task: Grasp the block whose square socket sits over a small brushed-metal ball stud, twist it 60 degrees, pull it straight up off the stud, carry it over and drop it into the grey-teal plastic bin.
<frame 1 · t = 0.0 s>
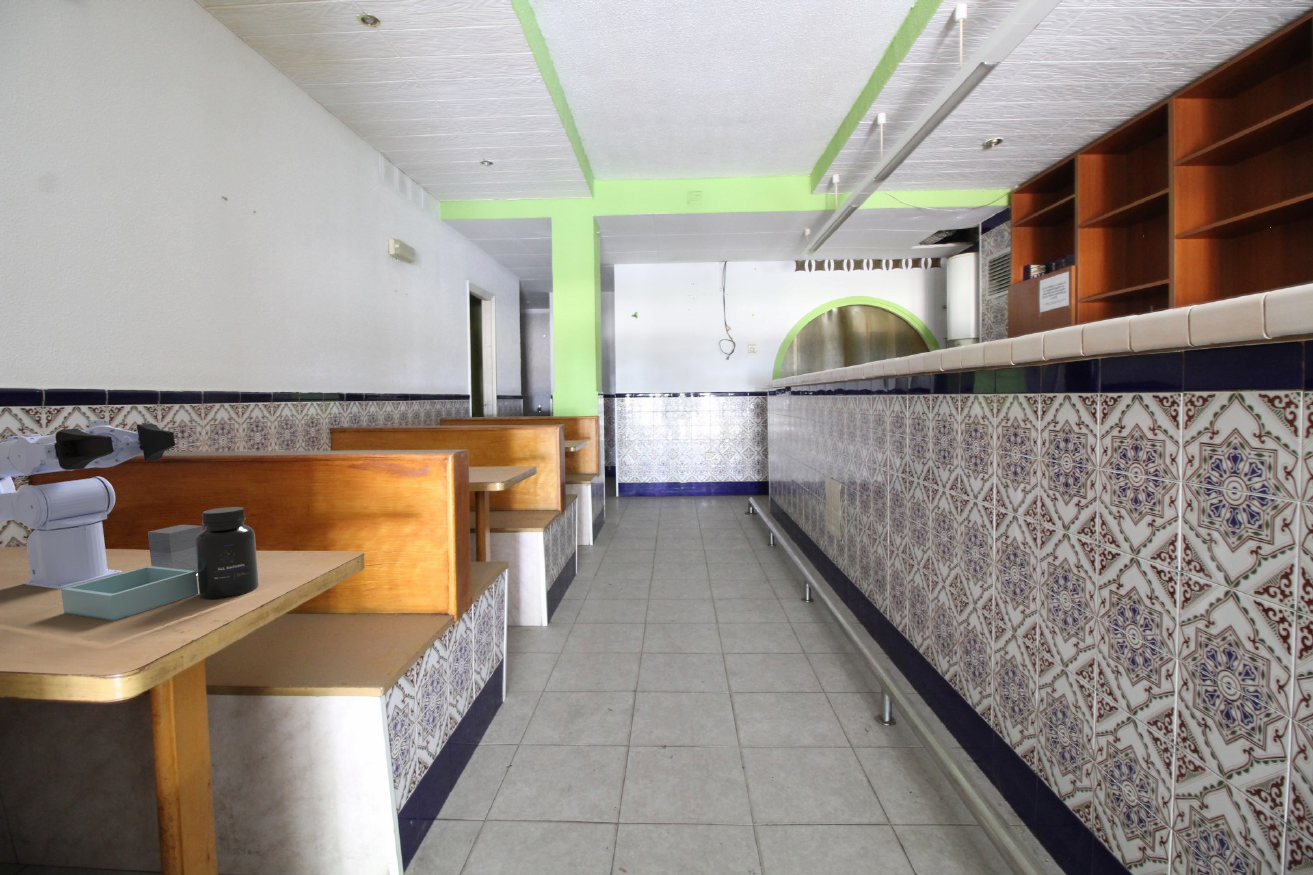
hand: (142, 441, 84), 22 cm above the table, tool horizontal, fingers open, 7 cm apart
bin: (134, 605, 80), on the table
block: (180, 574, 93), resting on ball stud
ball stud: (180, 576, 93), on the table
supplement bottle: (230, 594, 84), on the table
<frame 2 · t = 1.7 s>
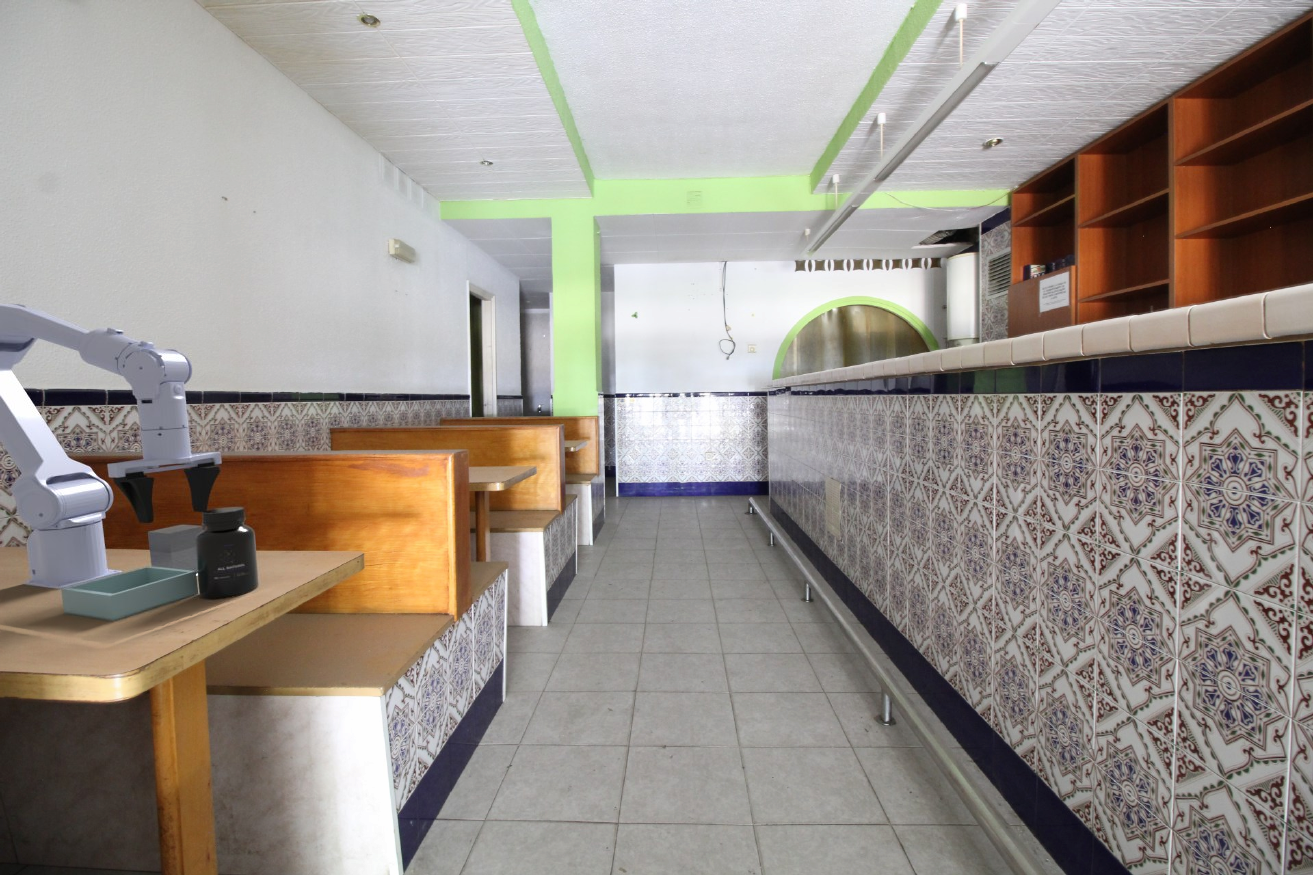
hand: (174, 516, 92), 9 cm above the table, tool pointing down, fingers open, 7 cm apart
nothing on the table moved.
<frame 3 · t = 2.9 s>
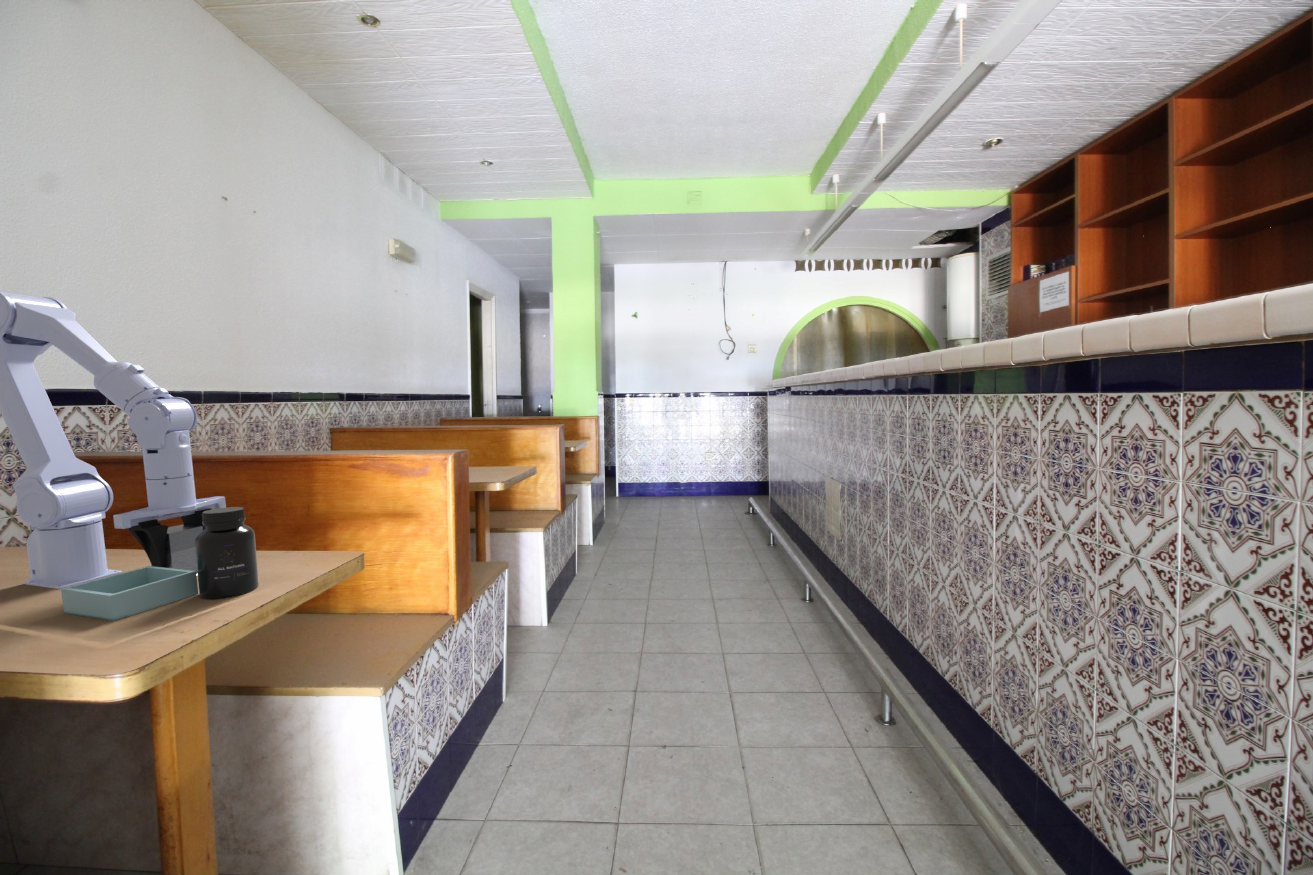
hand: (179, 563, 92), 2 cm above the table, tool pointing down, fingers closed on block, 5 cm apart
block: (180, 574, 93), resting on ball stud, touching gripper
everything else where it was.
when the fingers open (4 cm above the table, at t = 7.3 s): block drops 1 cm, resting on bin.
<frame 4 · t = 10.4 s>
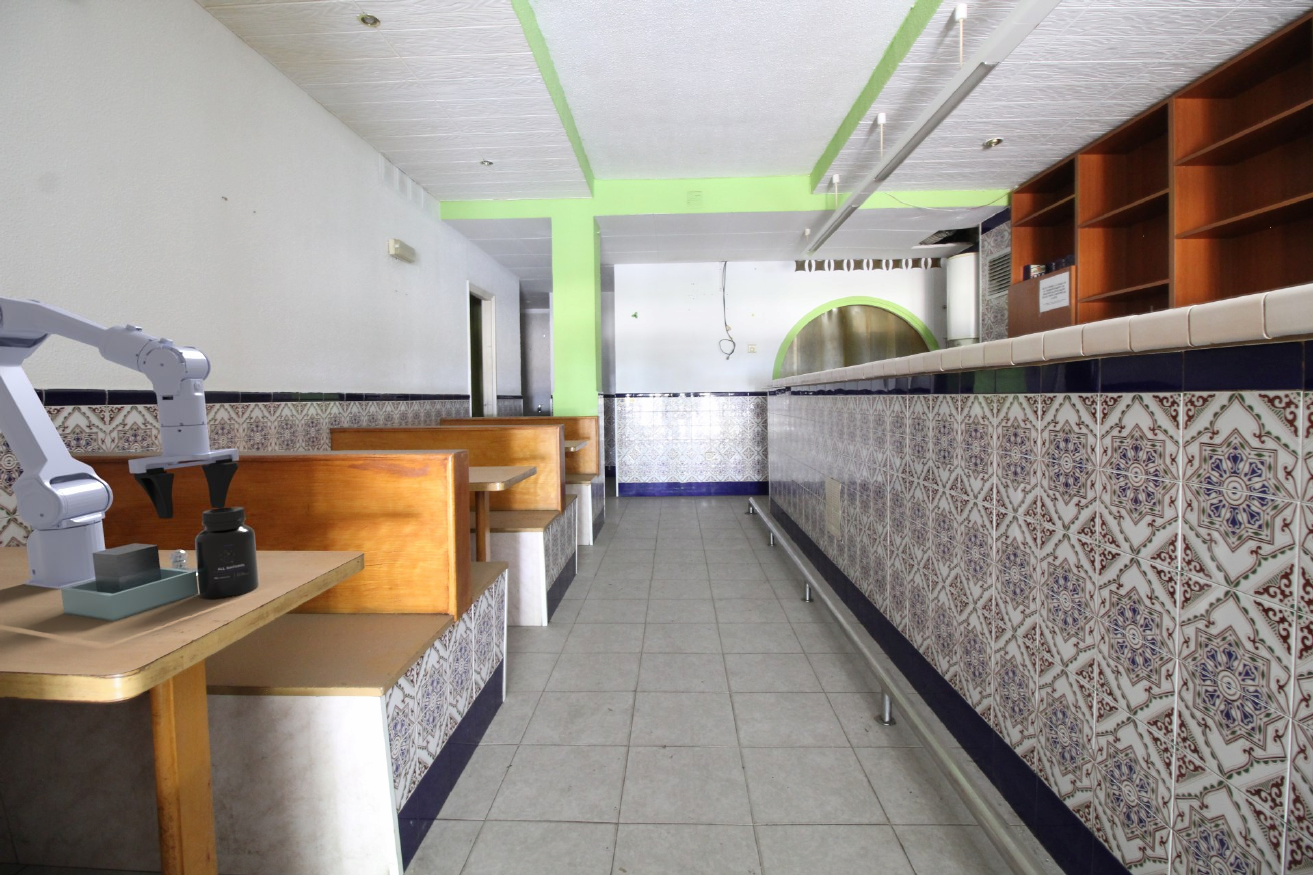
hand: (193, 512, 92), 10 cm above the table, tool pointing down, fingers open, 7 cm apart
block: (131, 601, 80), point 1 cm above the table, touching bin
everything else where it was.
at the end: block inside the target area on the bin (0.4 cm from its centre), point 0.6 cm above the bin's base; the gripper is holding nothing; block point 0.6 cm above the table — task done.
